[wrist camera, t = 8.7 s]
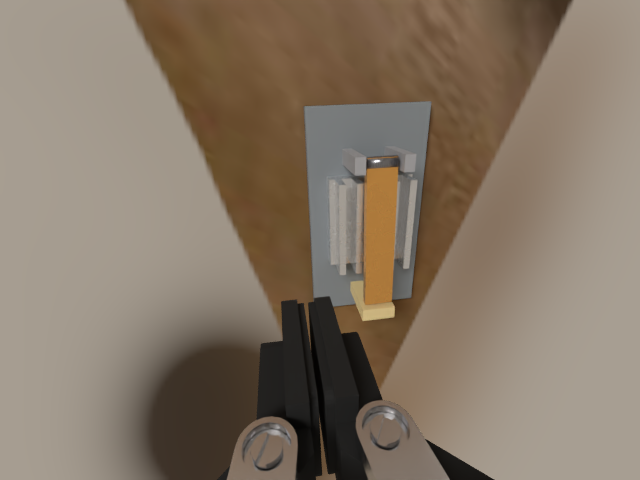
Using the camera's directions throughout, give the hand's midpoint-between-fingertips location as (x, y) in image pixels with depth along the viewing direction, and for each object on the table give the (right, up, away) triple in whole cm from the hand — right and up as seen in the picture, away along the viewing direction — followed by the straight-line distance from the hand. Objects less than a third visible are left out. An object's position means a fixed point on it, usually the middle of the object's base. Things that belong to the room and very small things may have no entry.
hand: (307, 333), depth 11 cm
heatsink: (+6, +6, +26) cm, 27 cm away
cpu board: (+6, +6, +26) cm, 27 cm away
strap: (+6, +4, +21) cm, 22 cm away
